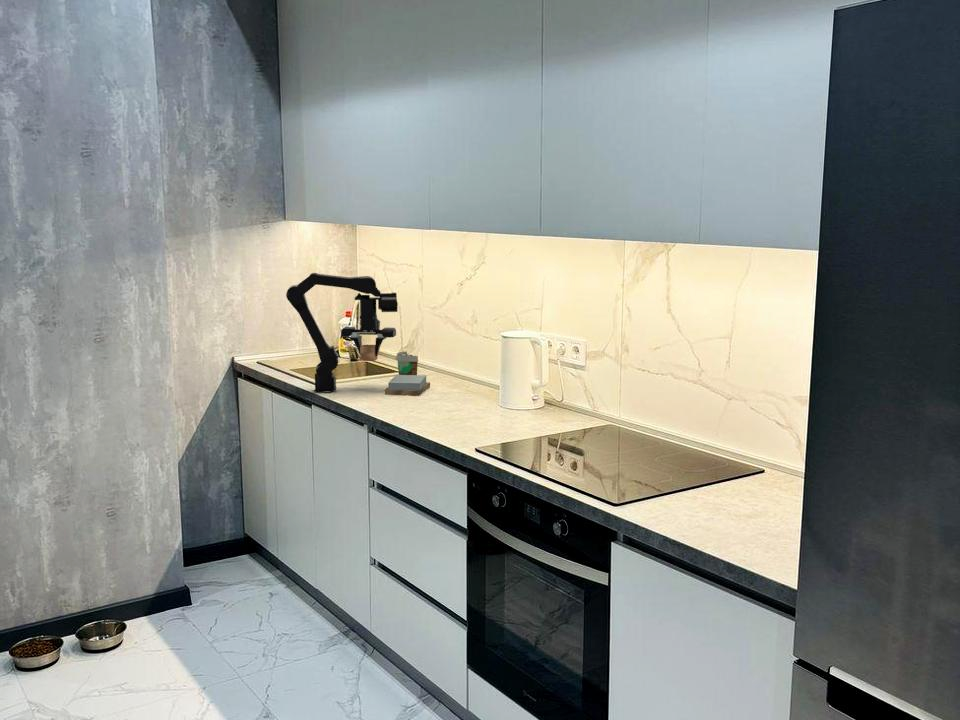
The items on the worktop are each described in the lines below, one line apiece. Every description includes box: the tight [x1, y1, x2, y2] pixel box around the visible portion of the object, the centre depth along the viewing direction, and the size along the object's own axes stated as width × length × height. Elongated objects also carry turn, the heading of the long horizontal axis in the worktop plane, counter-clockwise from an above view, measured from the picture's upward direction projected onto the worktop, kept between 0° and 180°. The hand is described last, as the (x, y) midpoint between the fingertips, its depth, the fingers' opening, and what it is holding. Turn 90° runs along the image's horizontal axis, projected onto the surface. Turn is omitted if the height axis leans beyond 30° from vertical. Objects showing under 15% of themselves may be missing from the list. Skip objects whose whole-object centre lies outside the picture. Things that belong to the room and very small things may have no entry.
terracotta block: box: [359, 344, 379, 362], centre depth 346 cm, size 5×5×5 cm
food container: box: [395, 351, 419, 375], centre depth 365 cm, size 12×6×10 cm, turn 25°
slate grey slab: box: [387, 374, 427, 390], centre depth 346 cm, size 11×15×2 cm
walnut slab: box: [384, 381, 431, 397], centre depth 347 cm, size 12×16×2 cm
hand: (369, 356), depth 346 cm, fingers closed on terracotta block, 5 cm apart
